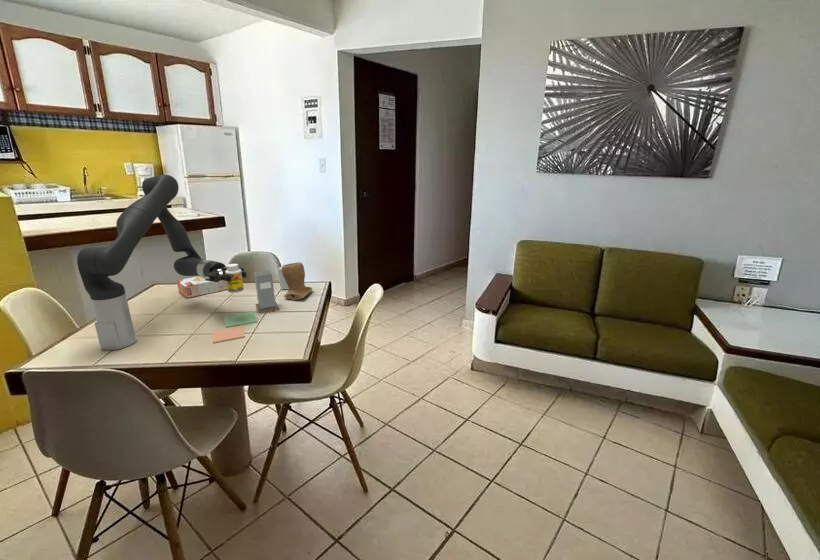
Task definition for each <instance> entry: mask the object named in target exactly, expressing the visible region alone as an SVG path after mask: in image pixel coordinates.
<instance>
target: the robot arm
mask: <svg viewBox="0 0 820 560" xmlns="http://www.w3.org/2000/svg"><path fill="white" fill-rule="evenodd" d="M141 188H142V191H143V194H144V196H142V197H141V198H138V199H137V200H135V201H134V202H132V203H131V204H129V205H127V207H126V208H125V209H124V210H123V211H122V213H121V214H120V215H119V216H118V218H117V220H116V231H117V237H116V238H115V240H114V241H112V243H110V245H108V246H90V247H84V248H82V249H80V250H79V252H78V254H77V258H76V262H77V263H76V265H77V269H78V273H79V275H80V278H81V281H82V284H83V288H84V290H85V291H86V292H87V294H88V295H89V298H90V300H91V305H92V308H93V313H94V317H95V320H96V321H95V322H94V328H95V331H96V334H97V339H98V342H99V346H100V350H101V351H102V350H105V351H107V350H111V351H114V350H117V351H119V350H121V349H123V348H127V347H129V346H132V345H134V344H135V343H136V342H137V336H136V332H135V328H134V323H133V319H132V314H131V310H130V306H129V302H128V299H127V294H126V289H125V287H124V285H123V284H122V283H119V282H116V281H114V280H113V279H112V278H110V277H111V276H112V277H114V276H116V275H119V274H121V272H122V271H123V270H124V268H125V266H126V265H127V263H128V262H129V259H130V258H131V256H132V253H133V252H134V251H135V249H136V247H137V246H138V244H139V243H140V242H141V240H142V238H143V237H144V236H145V234H147V232H148V231H149V230H150V228H151V226H152V225H153V224H154V222H155V221H156V219H158V221H159V222H160V223H161V225H162V227H163V229H164V230H163V231H165V233H166V236H167V239H168V241H169V242H168V243H169V244H170V247H171V249H172V251H173V252H175V253H185V256H183V257H180V258H177V259H176V260H175V261H174V262H173V269H174V271H175V272H176V273H177V274H178V275H180V276H183V277H198V276H200V277H203V278H205V279H206V281H212V282H219V281H228V282H231V281H232V280H231V276H229V275H225V271H226V270H227V265H225V264H224V263H223V262H220V261H216V260H211V259H205V258H204V259H203V258H201V255H199V253H198V252H197V251H196V249H195V248H194V246H193V245H192V243H191V240H190V238H189V235H188V233H187V230H186V228H185V227H184V225H183V224H182V223H181V222H180V221H179V219H177V218H176V217H175V216H174V215H173V214H172V213H171V212H170V210H169V209H168V208H167V205H168V204H170V202H172V201H173V200H174V199H175V198H176V196H177V195H178V194H179V183H178V180H177V179H176V178H175V177H174V176H172V175H169V174H159V175H154V176H150V177H148V178H145V179H144V180H143V181H142V184H141ZM238 267H239V269H241V272H242V279H245V278H247V271H245V268H244V267H242V266H239V265H238Z"/></svg>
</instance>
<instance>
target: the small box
mask: <svg viewBox="0 0 820 560" xmlns="http://www.w3.org/2000/svg"><path fill="white" fill-rule="evenodd" d="M282 266H283V265H281V266H280V267H279V268H277V271H278V279H279V287H280V290H281V289H282V290H281V291H284V290H283V289H289V287H288V285H287V283H286V280H285V278H284V277H283V274H282Z"/></svg>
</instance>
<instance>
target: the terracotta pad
mask: <svg viewBox="0 0 820 560" xmlns="http://www.w3.org/2000/svg"><path fill="white" fill-rule="evenodd" d="M211 335H212V344H217V343H222V342H223V343H224V342H228V341H234V340H239V339H244V338H245V337H246V336H245V332H244V328H243V325H239V326H234V327H228V328H224V329H223V328H222V329H218V330H212V331H211Z"/></svg>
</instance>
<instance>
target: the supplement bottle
mask: <svg viewBox="0 0 820 560" xmlns="http://www.w3.org/2000/svg"><path fill="white" fill-rule="evenodd" d="M238 266H239V263H228V264H227V265H226V267H227V270H226V271H225V275H229V276H231V280H232V281H231V282H228V281H226V282H227V291H228V293H230V294H238V293H239V294H240V293H241V292H243V291H244V280H243V279H244V278H243V277H242V272H241V269H239V267H240V266H239V267H238Z"/></svg>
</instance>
